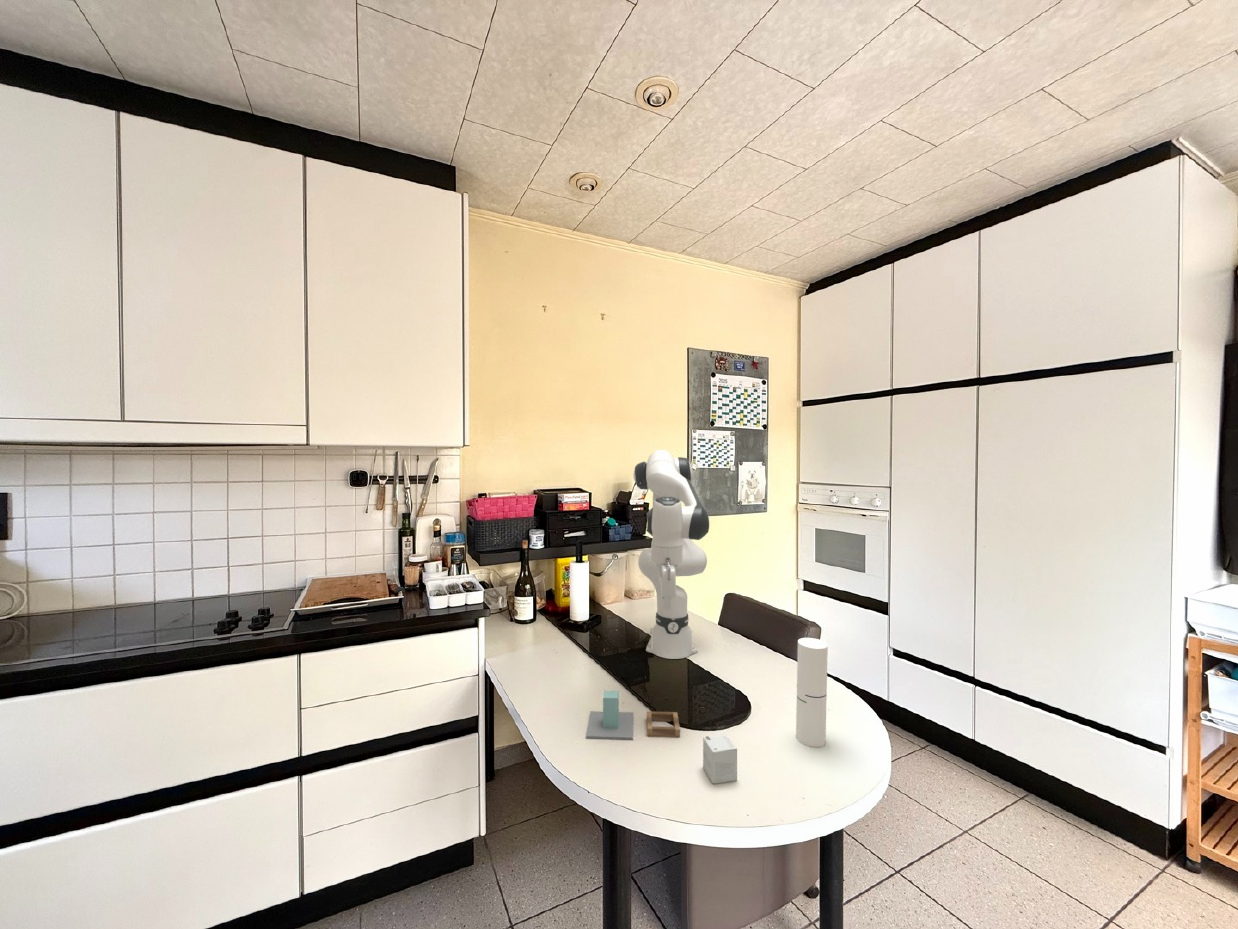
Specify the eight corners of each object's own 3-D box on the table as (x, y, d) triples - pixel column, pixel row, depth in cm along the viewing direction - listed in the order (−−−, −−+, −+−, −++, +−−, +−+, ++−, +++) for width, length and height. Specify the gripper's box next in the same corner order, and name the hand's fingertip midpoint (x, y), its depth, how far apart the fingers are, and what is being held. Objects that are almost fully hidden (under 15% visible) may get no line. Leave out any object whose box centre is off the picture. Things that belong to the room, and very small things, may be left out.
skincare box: (737, 781, 109) (738, 748, 109) (712, 784, 108) (712, 752, 108) (726, 764, 115) (726, 733, 115) (702, 767, 114) (702, 736, 114)
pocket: (646, 718, 134) (646, 711, 134) (677, 719, 134) (677, 712, 134) (647, 736, 126) (647, 728, 126) (679, 737, 126) (680, 729, 125)
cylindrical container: (822, 750, 121) (825, 651, 120) (793, 741, 124) (795, 644, 124) (827, 736, 127) (829, 641, 126) (799, 727, 130) (801, 635, 130)
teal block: (603, 719, 132) (604, 690, 132) (618, 719, 132) (618, 690, 132) (602, 727, 128) (603, 697, 128) (617, 728, 128) (618, 698, 128)
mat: (590, 713, 137) (590, 711, 137) (633, 714, 136) (633, 712, 136) (586, 738, 125) (586, 736, 125) (632, 740, 124) (632, 737, 124)
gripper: (681, 563, 126) (680, 616, 126) (675, 548, 147) (674, 593, 147) (657, 563, 126) (656, 616, 127) (654, 547, 147) (653, 593, 147)
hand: (666, 603), depth 137 cm, fingers open, 8 cm apart
